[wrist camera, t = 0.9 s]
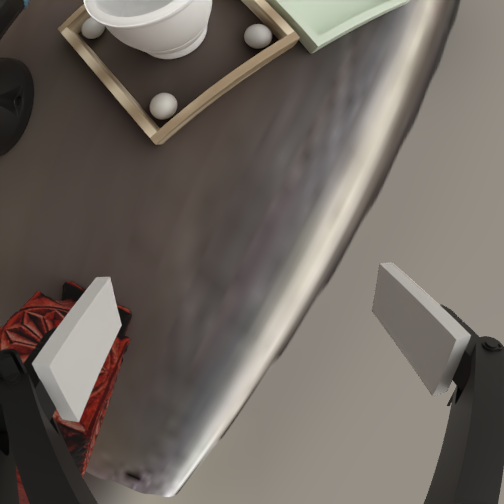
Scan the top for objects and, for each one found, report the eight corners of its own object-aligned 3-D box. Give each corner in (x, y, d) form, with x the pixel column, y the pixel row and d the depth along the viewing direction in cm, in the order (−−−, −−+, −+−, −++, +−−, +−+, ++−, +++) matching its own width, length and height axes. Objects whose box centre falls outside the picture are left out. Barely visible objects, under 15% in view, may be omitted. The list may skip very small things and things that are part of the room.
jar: (227, 5, 29) (226, -60, 15) (199, 75, 32) (179, 35, 18) (149, -7, 27) (113, -66, 13) (120, 60, 30) (63, 24, 16)
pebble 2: (238, 38, 30) (238, 29, 27) (259, 25, 30) (261, 15, 27) (254, 56, 31) (256, 49, 28) (275, 43, 31) (279, 34, 28)
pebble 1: (148, 107, 33) (140, 104, 30) (168, 89, 32) (162, 85, 29) (164, 125, 34) (158, 124, 31) (185, 108, 33) (180, 105, 30)
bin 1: (69, 35, 28) (57, 28, 24) (188, -54, 24) (185, -67, 21) (162, 144, 34) (155, 144, 31) (294, 46, 31) (300, 37, 28)
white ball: (83, 33, 28) (73, 26, 25) (101, 16, 27) (92, 8, 24) (94, 45, 29) (84, 39, 26) (113, 29, 28) (104, 21, 25)
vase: (51, 334, 42) (-36, 469, 14) (62, 266, 39) (-71, 408, 11) (123, 369, 45) (70, 530, 17) (145, 307, 42) (70, 501, 13)
